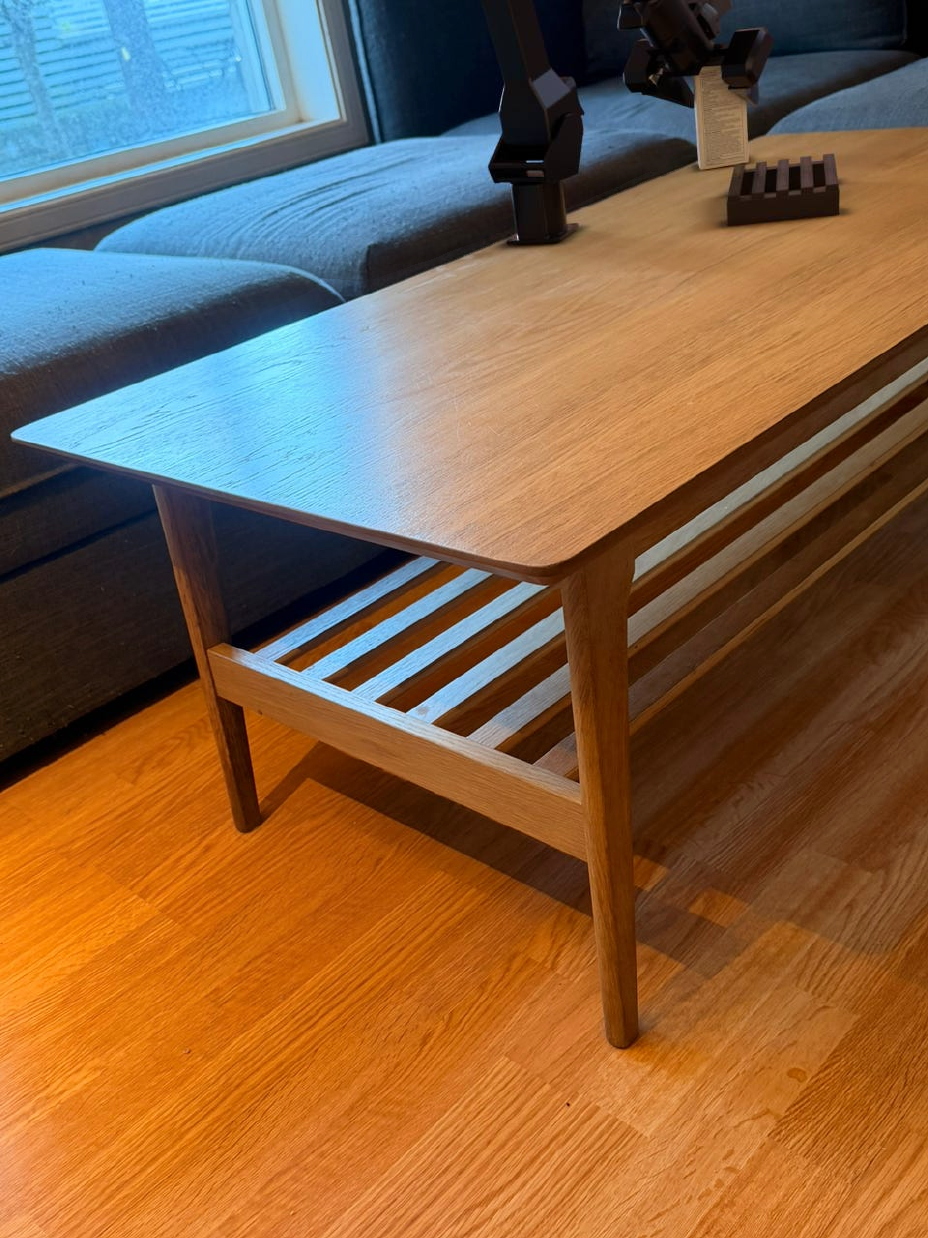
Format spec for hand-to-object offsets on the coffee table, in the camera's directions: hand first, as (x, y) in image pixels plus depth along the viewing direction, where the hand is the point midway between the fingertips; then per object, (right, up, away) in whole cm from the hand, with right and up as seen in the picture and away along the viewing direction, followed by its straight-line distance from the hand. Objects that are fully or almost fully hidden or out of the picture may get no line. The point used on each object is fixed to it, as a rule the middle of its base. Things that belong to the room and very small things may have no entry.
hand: (725, 103), depth 142 cm
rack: (+1, -20, -20) cm, 29 cm away
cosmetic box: (0, -7, +3) cm, 7 cm away
